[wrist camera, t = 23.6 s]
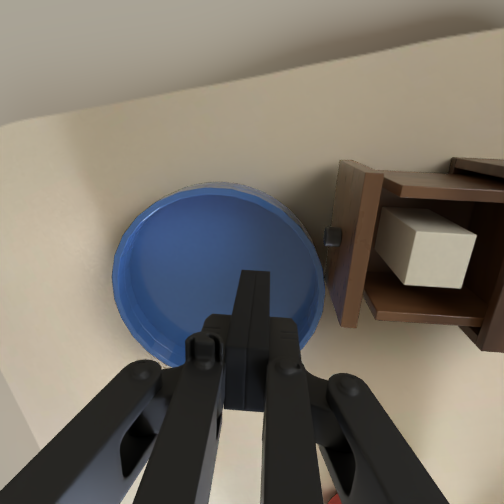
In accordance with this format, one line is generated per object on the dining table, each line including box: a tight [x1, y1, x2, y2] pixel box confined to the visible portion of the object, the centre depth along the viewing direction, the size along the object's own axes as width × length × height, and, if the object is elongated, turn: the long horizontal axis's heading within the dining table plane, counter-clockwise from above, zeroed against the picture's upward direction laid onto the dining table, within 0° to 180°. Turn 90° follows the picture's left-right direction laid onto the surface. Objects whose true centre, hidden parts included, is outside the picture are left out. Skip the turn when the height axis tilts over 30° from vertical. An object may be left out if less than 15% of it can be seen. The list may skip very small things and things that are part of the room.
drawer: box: [323, 160, 504, 328], centre depth 27 cm, size 14×11×9 cm
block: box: [374, 207, 477, 289], centre depth 26 cm, size 4×4×8 cm
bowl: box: [112, 182, 325, 368], centre depth 33 cm, size 20×20×4 cm
